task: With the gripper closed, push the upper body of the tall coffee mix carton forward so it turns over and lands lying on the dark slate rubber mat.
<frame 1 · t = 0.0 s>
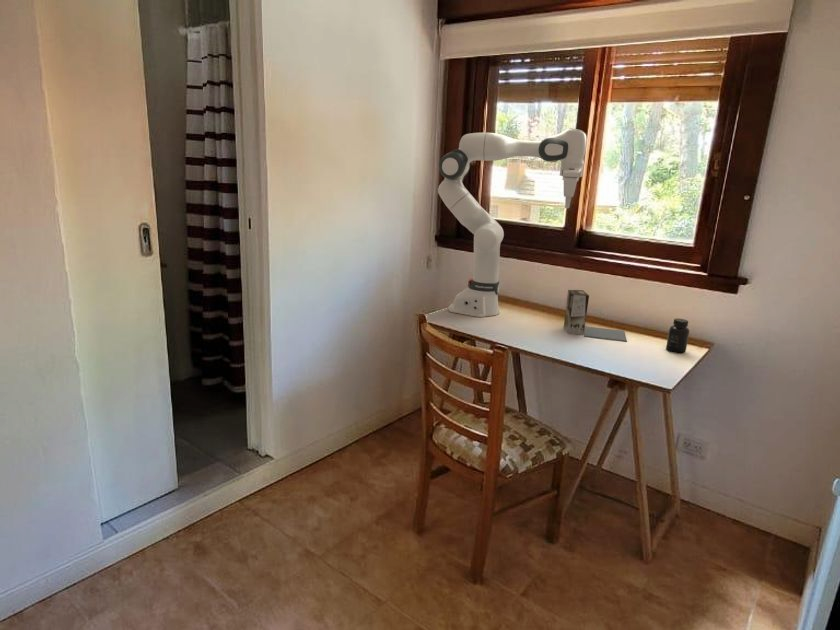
hand: (567, 207, 222), 48 cm above the table, fingers open, 8 cm apart
mat: (604, 334, 220), on the table
supplement bottle: (675, 351, 205), on the table
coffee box: (573, 331, 223), on the table
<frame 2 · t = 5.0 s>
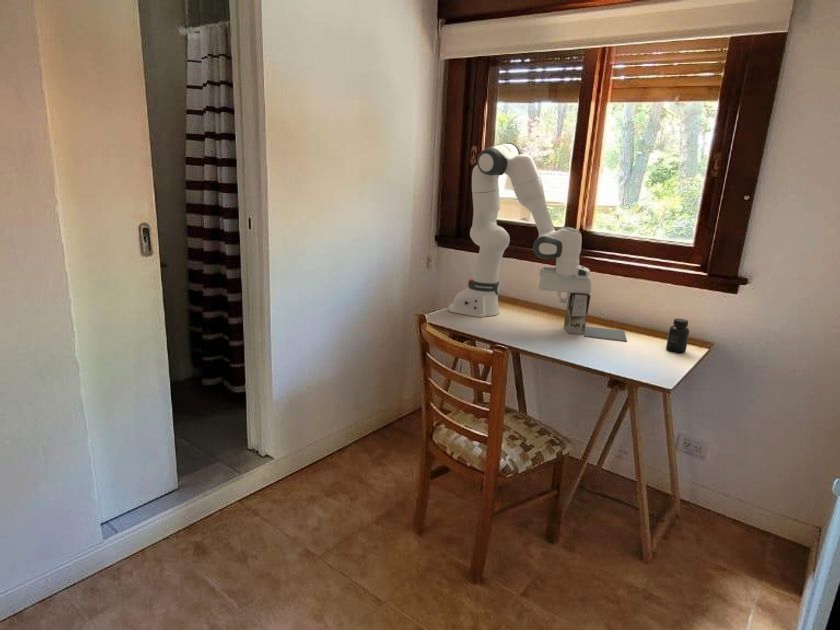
hand: (562, 302, 221), 11 cm above the table, fingers closed
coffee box: (573, 330, 223), on the table, touching gripper
everything else where it was.
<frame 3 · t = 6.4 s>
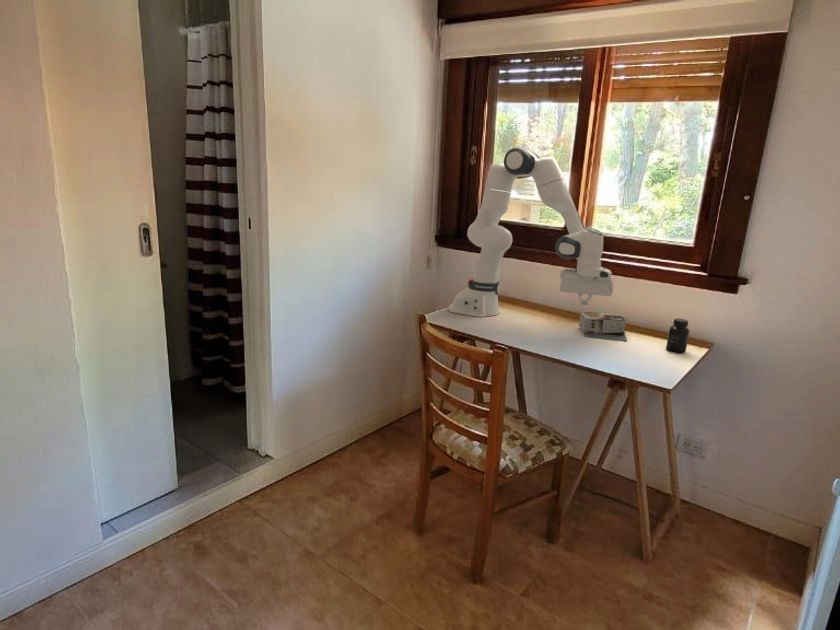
hand: (583, 304, 219), 11 cm above the table, fingers closed
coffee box: (581, 322, 222), point 4 cm above the table, touching mat
everything else where it was.
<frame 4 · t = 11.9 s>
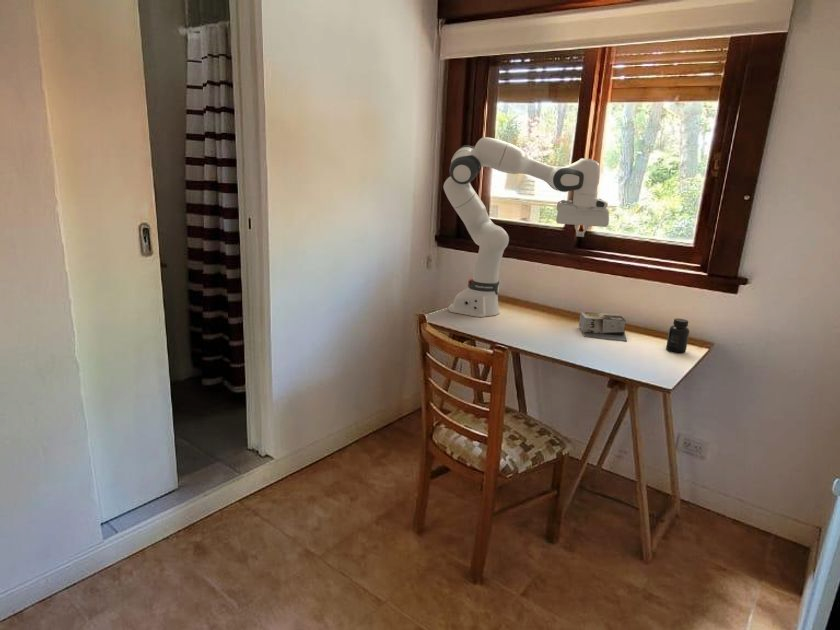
hand: (580, 236, 220), 37 cm above the table, fingers closed
nothing on the table moved.
at the end: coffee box tilted 90°; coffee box inside the target area (10.5 cm from its centre), point 3.7 cm above the table; the gripper is holding nothing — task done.
